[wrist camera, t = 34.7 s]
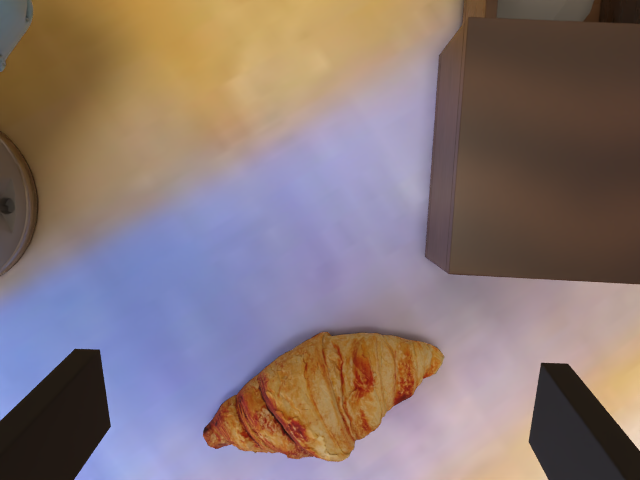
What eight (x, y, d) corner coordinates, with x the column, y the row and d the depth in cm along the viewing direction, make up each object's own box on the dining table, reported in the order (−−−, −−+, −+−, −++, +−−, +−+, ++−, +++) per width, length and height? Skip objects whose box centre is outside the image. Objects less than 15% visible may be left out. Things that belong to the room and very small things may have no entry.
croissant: (418, 307, 46) (419, 283, 38) (465, 415, 42) (476, 412, 34) (209, 386, 46) (171, 378, 39) (236, 499, 42) (198, 514, 35)
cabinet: (439, 55, 40) (468, 16, 31) (608, 62, 40) (686, 25, 31) (424, 257, 42) (448, 274, 33) (587, 265, 41) (655, 285, 33)
